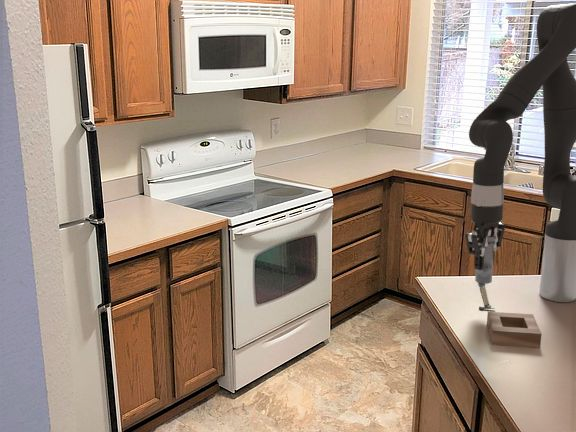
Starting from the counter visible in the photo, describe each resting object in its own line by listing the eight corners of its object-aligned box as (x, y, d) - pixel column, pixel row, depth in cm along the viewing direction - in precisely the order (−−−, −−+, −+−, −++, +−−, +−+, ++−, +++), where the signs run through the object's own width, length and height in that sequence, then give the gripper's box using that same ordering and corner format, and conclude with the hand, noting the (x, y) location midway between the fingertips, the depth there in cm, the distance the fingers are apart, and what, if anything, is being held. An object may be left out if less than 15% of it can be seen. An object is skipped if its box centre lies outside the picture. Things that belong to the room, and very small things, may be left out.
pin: (480, 275, 158) (483, 231, 155) (497, 280, 155) (499, 235, 151) (469, 280, 155) (471, 235, 152) (486, 285, 152) (488, 239, 149)
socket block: (486, 324, 150) (487, 311, 149) (531, 327, 148) (533, 314, 147) (491, 344, 140) (493, 330, 139) (540, 347, 138) (541, 333, 137)
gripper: (490, 193, 156) (487, 256, 161) (456, 204, 148) (454, 270, 153) (517, 198, 151) (513, 263, 156) (483, 209, 142) (480, 278, 147)
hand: (484, 266), depth 154 cm, fingers closed on pin, 4 cm apart
